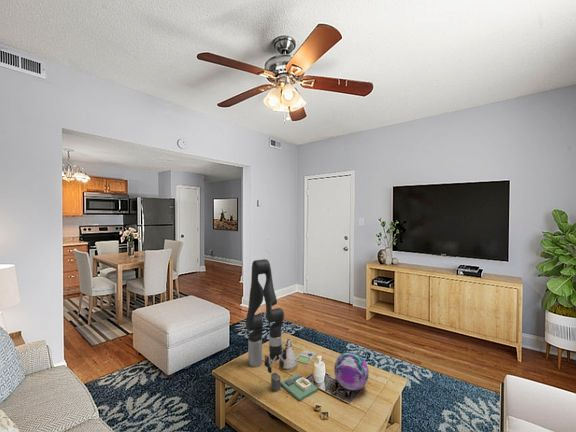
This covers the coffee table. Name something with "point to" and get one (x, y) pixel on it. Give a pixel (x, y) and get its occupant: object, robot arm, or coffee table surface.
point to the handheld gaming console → (305, 357)
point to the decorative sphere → (351, 371)
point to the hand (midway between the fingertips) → (275, 369)
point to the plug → (275, 382)
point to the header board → (299, 387)
